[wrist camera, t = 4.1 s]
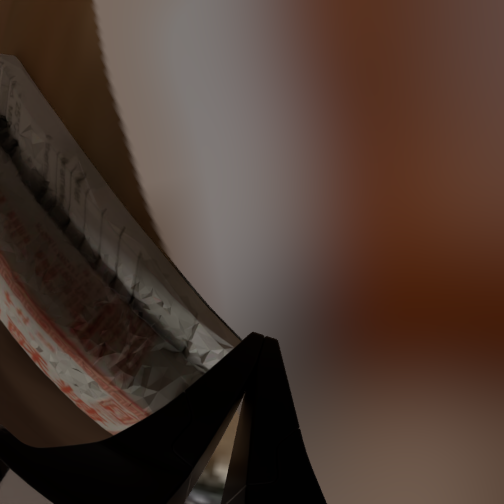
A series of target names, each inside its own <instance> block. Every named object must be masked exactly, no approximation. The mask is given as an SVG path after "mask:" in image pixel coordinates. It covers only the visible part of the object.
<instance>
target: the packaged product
mask: <svg viewBox="0 0 504 504" xmlns="http://www.w3.org/2000/svg"><path fill="white" fill-rule="evenodd" d="M171 261H172V260H171ZM172 263H173V262H172ZM173 265H174V267H173V266H172V265H171V263H170V262H169V261H168V260H167V258H166V257H165V256H164V255H163V253H162V252H161V251H160V250H159V248H158V247H157V246H156V245H155V243H154V242H153V241H152V240H151V239H150V237H149V236H148V235H147V234H146V233H145V232H144V231H143V229H142V228H141V227H140V226H139V224H138V223H137V222H136V221H135V219H134V218H133V217H132V216H131V214H130V213H129V212H128V211H127V209H126V208H125V207H124V205H123V204H122V203H121V202H120V200H119V199H118V198H117V196H116V195H115V194H114V192H113V191H112V190H111V189H110V187H109V186H108V184H107V183H106V182H105V180H104V179H103V178H102V176H101V175H100V173H99V172H98V171H97V169H96V168H95V167H94V165H93V164H92V163H91V161H90V160H89V159H88V157H87V156H86V155H85V153H84V152H83V150H82V149H81V148H80V146H79V145H78V144H77V142H76V141H75V139H74V138H73V137H72V135H71V134H70V133H69V131H68V130H67V128H66V127H65V125H64V124H63V122H62V121H61V120H60V118H59V117H58V115H57V114H56V113H55V111H54V110H53V109H52V107H51V106H50V104H49V103H48V102H47V100H46V99H45V97H44V96H43V95H42V93H41V92H40V90H39V89H38V87H37V86H36V84H35V83H34V82H33V80H32V79H31V77H30V76H29V74H28V73H27V71H26V70H25V68H24V67H23V65H22V64H21V62H20V61H19V60H18V59H17V57H16V56H13V55H6V54H0V320H1V321H2V322H3V324H4V325H5V326H6V327H7V329H8V330H9V332H10V333H11V334H12V336H13V337H14V338H15V339H16V341H17V342H18V343H19V344H20V345H21V347H22V348H23V349H24V350H25V351H26V353H27V354H28V355H29V356H30V358H31V359H32V360H33V361H34V362H35V364H36V365H37V366H38V367H39V368H40V369H41V370H42V371H43V373H45V374H46V375H47V376H48V377H49V378H50V379H51V380H52V381H53V382H54V383H55V384H56V385H57V387H58V388H59V389H60V390H61V391H62V392H63V393H64V394H65V395H66V396H67V397H69V398H70V399H71V400H72V401H73V402H74V403H75V405H76V406H77V407H79V408H80V409H81V410H82V411H83V412H85V413H86V414H87V415H88V416H89V417H91V418H92V419H93V420H94V421H95V422H97V423H98V424H99V425H100V426H101V427H102V428H104V429H105V430H106V431H108V432H109V433H111V434H113V435H115V434H117V433H119V432H121V431H123V430H125V429H126V428H128V427H130V426H132V425H134V424H135V423H137V422H139V421H141V420H143V419H144V418H146V417H148V416H149V415H151V414H153V413H154V412H156V411H157V410H159V409H161V408H162V407H163V406H165V405H166V404H168V403H169V402H170V401H172V400H173V399H174V398H175V397H177V396H178V395H179V394H180V393H182V392H184V391H185V389H187V388H188V387H189V386H190V385H191V384H193V383H194V382H195V381H196V380H197V379H199V378H200V377H201V376H202V375H203V374H204V373H206V372H207V371H208V370H209V369H210V368H211V367H213V366H214V365H215V364H216V363H217V362H218V361H220V360H221V359H222V358H223V357H224V356H225V355H226V354H228V353H229V352H230V351H231V350H232V349H233V348H234V347H236V346H237V345H238V344H239V343H240V342H241V341H242V339H241V338H240V337H239V336H238V335H237V334H236V333H235V332H234V331H233V330H232V329H231V328H230V327H229V326H228V325H227V324H226V323H225V322H224V321H223V319H222V318H220V317H219V316H218V314H217V313H216V312H215V311H214V310H213V309H212V308H211V307H210V306H209V305H208V304H207V302H206V301H205V300H204V299H203V298H202V297H201V295H200V294H199V293H198V292H197V291H196V290H195V288H194V287H193V286H192V285H191V283H190V282H189V281H188V280H187V279H186V278H185V276H184V275H183V274H182V273H181V271H180V270H179V269H178V268H177V266H176V265H175V264H174V263H173Z"/></svg>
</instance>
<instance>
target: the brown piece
mask: <svg viewBox="0 0 504 504" xmlns="http://www.w3.org/2000/svg"><path fill="white" fill-rule="evenodd" d="M0 424H1V425H3V426H4V427H5V428H6V429H8V430H9V431H10V432H11V433H12V434H13V435H14V436H15V437H16V438H18V439H19V440H20V441H21V442H23V443H25V444H27V445H29V446H33V447H56V446H66V445H75V444H84V443H91V442H96V441H101V440H103V439H106V438H109V437H111V436H113V434H111V433H109V432H108V431H106V430H105V429H104V428H102V427H101V426H100V425H99V424H98V423H97V422H95V421H94V420H93V419H92V418H91V417H89V416H88V415H87V414H86V413H85V412H83V411H82V410H81V409H80V408H79V407H77V406H76V405H75V403H74V402H73V401H72V400H71V399H70V398H69V397H67V396H66V395H65V394H64V393H63V392H62V391H61V390H60V389H59V388H58V387H57V385H56V384H55V383H54V382H53V381H52V380H51V379H50V378H49V377H48V376H47V375H46V374H45V373H43V371H42V370H41V369H40V368H39V367H38V366H37V365H36V364H35V362H34V361H33V360H32V359H31V358H30V356H29V355H28V354H27V353H26V351H25V350H24V349H23V348H22V347H21V345H20V344H19V343H18V342H17V341H16V339H15V338H14V337H13V336H12V334H11V333H10V332H9V330H8V329H7V327H6V326H5V325H4V324H3V322H2V321H1V320H0Z"/></svg>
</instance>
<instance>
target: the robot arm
mask: <svg viewBox="0 0 504 504" xmlns="http://www.w3.org/2000/svg"><path fill="white" fill-rule="evenodd" d="M244 393H245V394H244ZM243 396H244V398H243ZM242 398H243V402H242V407H241V412H240V417H239V421H238V426H237V431H236V436H235V441H234V445H233V450H232V455H231V460H230V464H229V469H228V473H227V478H226V483H225V487H224V492H223V496H222V501H221V504H327V503H326V500H325V498H324V496H323V493H322V491H321V488H320V486H319V484H318V481H317V479H316V476H315V474H314V471H313V469H312V466H311V464H310V461H309V458H308V455H307V452H306V449H305V445H304V442H303V439H302V434H301V430H300V429H299V423H298V419H297V415H296V411H295V407H294V403H293V399H292V395H291V391H290V387H289V383H288V379H287V375H286V371H285V367H284V363H283V359H282V355H281V351H280V347H279V343H278V340H277V339H274V338H271V337H268V336H266V337H265V338H264V335H262V334H258V333H256V332H252V333H250V334H249V335H248V336H247V337H246V338H245V339H243V340H242V341H241V342H240V343H239V344H238V345H237V346H236V347H234V348H233V349H232V350H231V351H230V352H229V353H228V354H226V355H225V356H224V357H223V358H222V359H221V360H220V361H218V362H217V363H216V364H215V365H214V366H213V367H211V368H210V369H209V370H208V371H207V372H206V373H204V374H203V375H202V376H201V377H200V378H199V379H197V380H196V381H195V382H194V383H193V384H191V385H190V386H189V387H188V388H187V389H185V391H184V392H182V393H180V394H179V395H178V396H177V397H175V398H174V399H173V400H172V401H170V402H169V403H168V404H166V405H165V406H163V407H162V408H161V409H159V410H157V411H156V412H154V413H153V414H151V415H149V416H148V417H146V418H144V419H143V420H141V421H139V422H137V423H135V424H134V425H132V426H130V427H128V428H126V429H125V430H123V431H121V432H119V433H117V434H115V435H113V436H111V437H109V438H106V439H103V440H101V441H96V442H91V443H84V444H75V445H66V446H56V447H33V446H29V445H27V444H25V443H23V442H21V441H20V440H19V439H18V438H16V437H15V436H14V435H13V434H12V433H11V432H10V431H9V430H8V429H6V428H5V427H4V426H3V425H1V424H0V504H184V502H185V501H186V499H187V497H188V496H189V494H190V492H191V491H192V489H193V487H194V486H195V484H196V482H197V481H198V479H199V477H200V475H201V474H202V472H203V470H204V468H205V467H206V465H207V463H208V461H209V460H210V458H211V456H212V454H213V453H214V451H215V449H216V447H217V445H218V444H219V442H220V440H221V438H222V436H223V434H224V433H225V431H226V429H227V427H228V425H229V423H230V421H231V419H232V418H233V416H234V414H235V412H236V410H237V408H238V406H239V404H240V402H241V400H242Z"/></svg>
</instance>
